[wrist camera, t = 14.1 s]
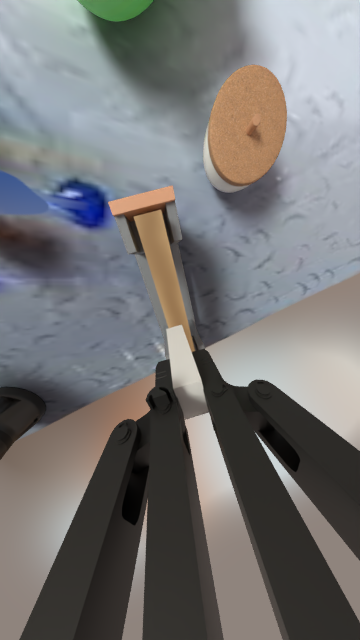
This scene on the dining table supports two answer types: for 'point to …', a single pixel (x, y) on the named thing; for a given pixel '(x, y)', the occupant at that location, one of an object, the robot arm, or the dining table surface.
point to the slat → (163, 269)
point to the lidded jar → (244, 129)
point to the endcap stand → (129, 232)
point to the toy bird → (116, 8)
